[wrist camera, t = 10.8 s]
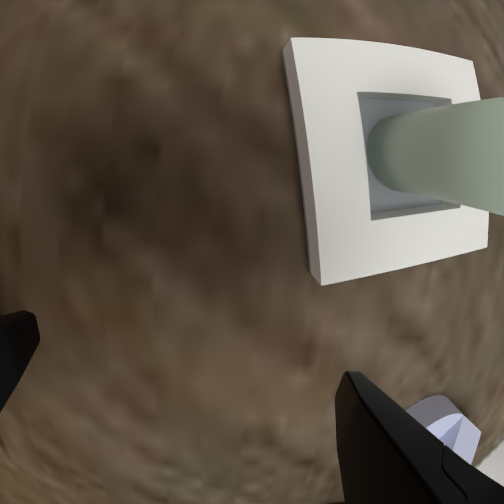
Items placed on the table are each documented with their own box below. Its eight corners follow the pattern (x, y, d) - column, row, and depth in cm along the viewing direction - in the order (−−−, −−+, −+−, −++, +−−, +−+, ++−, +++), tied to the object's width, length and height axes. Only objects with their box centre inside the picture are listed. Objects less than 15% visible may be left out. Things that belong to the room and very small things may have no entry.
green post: (357, 175, 18) (534, 206, 6) (377, 103, 17) (547, 63, 5) (417, 201, 19) (579, 252, 7) (434, 135, 18) (595, 137, 6)
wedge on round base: (467, 416, 28) (432, 383, 25) (495, 447, 22) (469, 424, 18) (416, 464, 29) (366, 444, 26) (438, 498, 23) (391, 491, 20)
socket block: (309, 272, 20) (321, 285, 18) (281, 51, 16) (290, 37, 14) (467, 239, 21) (486, 247, 19) (452, 67, 17) (472, 61, 15)
